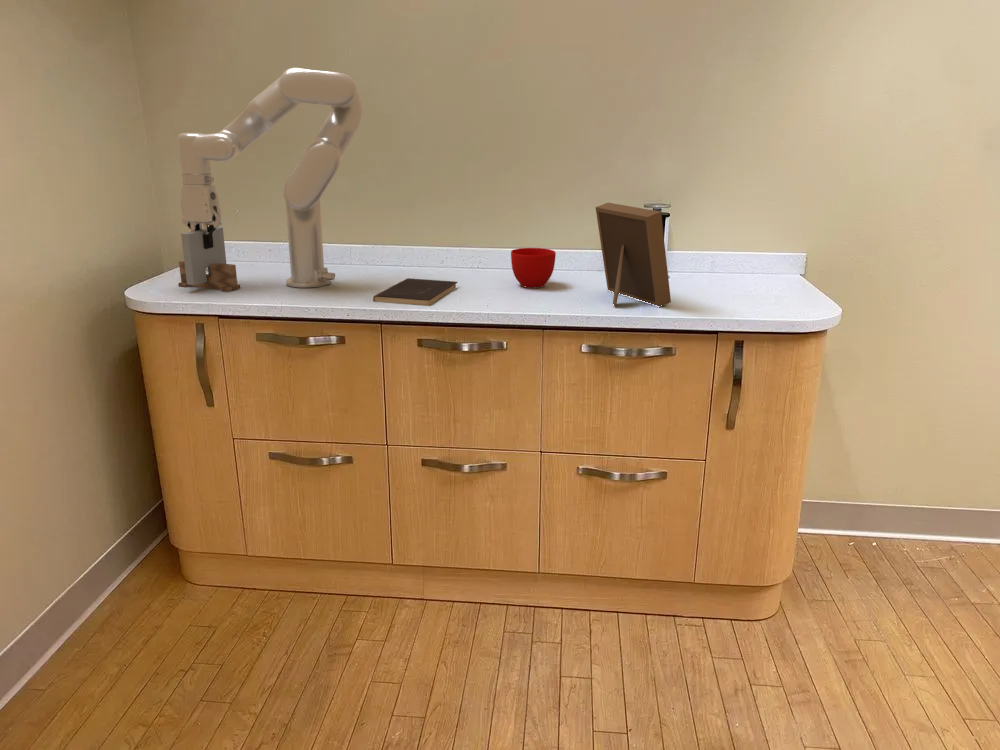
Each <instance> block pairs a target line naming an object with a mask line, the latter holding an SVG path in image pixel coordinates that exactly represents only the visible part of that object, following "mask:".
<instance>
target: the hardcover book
mask: <svg viewBox="0 0 1000 750" xmlns="http://www.w3.org/2000/svg"><path fill="white" fill-rule="evenodd" d="M457 284H458V281H454V280H453V281H449V280H438V279H437V280H436V279H425V278H422V279H421V278H410V277H409V278H408V277H406V278H405V279H403V280H402V281H401V280H400V281H399V282H398V283H396V284H394V285H391V286H390V287H387V288H386V289H384V290H382V291H380V292H378V293H377V294H375V295H373V298H372V301H373V302H378V303H379V302H380V303H388V304H389V303H392V304H404V305H405V304H406V305H414V306H415V305H416V306H428V307H429V306H430V305H432V304H433V303H435V302H436V301H438V300H439V299H441V298H442V297H444V296H445V295H447V294H449V293H450V292H451V291H454V290H455V289H456V287H457ZM454 288H455V289H454ZM437 299H438V300H437Z"/></svg>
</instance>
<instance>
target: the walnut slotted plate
mask: <svg viewBox="0 0 1000 750" xmlns="http://www.w3.org/2000/svg"><path fill="white" fill-rule="evenodd" d="M178 267H179V275H180V282H178V287H179V286H180V287H181V288H188V287H192V288H193V287H195V288H203V289H204V288H205V289H212V290H213V289H214V290H221V291H222V292H228V293H229V292H232V291H233V292H234V291H237V290H239V289H241V287H242V286H241V284H239V283H238V277H237V276H238V275H237V268H236V264H232V263H226V264H222V263H212V264H210V267H211V275H210V274H208V273H206V277H207V282H204V283H201V284H197V285H187V280H186V271H185V263H184V259H182V260H178Z"/></svg>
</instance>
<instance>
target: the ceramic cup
mask: <svg viewBox="0 0 1000 750" xmlns="http://www.w3.org/2000/svg"><path fill="white" fill-rule="evenodd" d="M556 254H557V253H556V251H555V250H554V249H548V248H543V247H542V248H541V247H522V248H516V249H512V250H511V252H510V260H511V261H510V263H511V270H512V272H513V276H514V277H515V279H516V280H517V281H518V283H519V284H520V286H521V285H522V286H521V287H523V286H526V287H525V288H527V287H539V288H542V287H541V286H543V287H544V286H546V284H547V282H548V281H549V280H550V279H551V277H552V275H553V272H554V269H555V263H556Z"/></svg>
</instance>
